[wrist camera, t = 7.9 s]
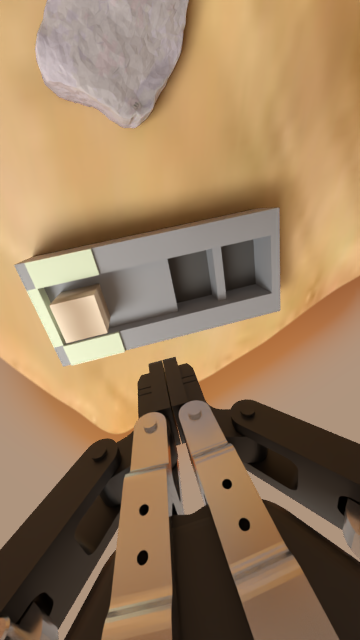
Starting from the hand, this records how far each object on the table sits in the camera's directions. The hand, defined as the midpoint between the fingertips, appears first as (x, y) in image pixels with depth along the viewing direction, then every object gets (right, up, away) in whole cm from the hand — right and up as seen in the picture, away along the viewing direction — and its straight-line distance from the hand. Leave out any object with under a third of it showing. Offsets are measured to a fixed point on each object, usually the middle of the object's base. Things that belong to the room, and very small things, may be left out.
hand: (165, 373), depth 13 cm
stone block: (-4, +27, +8) cm, 28 cm away
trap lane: (-1, +8, +16) cm, 18 cm away
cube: (-9, +5, +13) cm, 17 cm away
